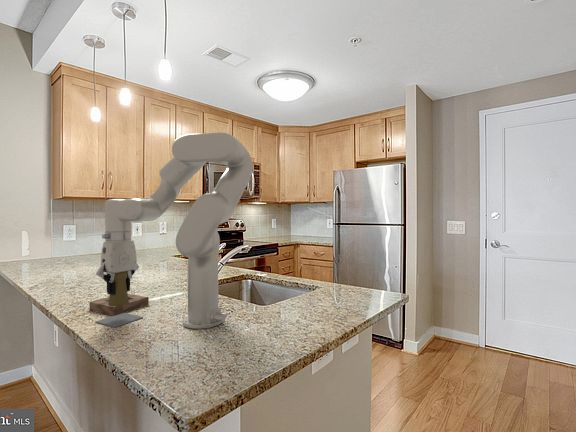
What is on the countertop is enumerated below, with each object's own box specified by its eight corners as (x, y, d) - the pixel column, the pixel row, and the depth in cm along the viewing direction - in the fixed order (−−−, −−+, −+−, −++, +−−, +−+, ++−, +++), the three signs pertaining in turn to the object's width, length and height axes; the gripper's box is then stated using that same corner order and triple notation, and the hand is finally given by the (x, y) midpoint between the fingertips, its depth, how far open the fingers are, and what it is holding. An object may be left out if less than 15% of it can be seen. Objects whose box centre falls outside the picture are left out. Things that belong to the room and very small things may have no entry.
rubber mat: (143, 318, 107) (143, 316, 107) (115, 327, 99) (115, 326, 99) (123, 313, 112) (123, 312, 112) (95, 322, 103) (95, 321, 103)
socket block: (148, 305, 122) (148, 297, 122) (113, 315, 110) (113, 307, 110) (124, 300, 129) (124, 293, 129) (89, 310, 116) (89, 302, 116)
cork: (110, 301, 107) (110, 269, 107) (130, 300, 109) (130, 268, 109) (106, 306, 101) (106, 272, 101) (127, 305, 103) (127, 271, 103)
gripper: (100, 239, 96) (100, 300, 96) (148, 235, 111) (148, 288, 111) (85, 238, 99) (85, 297, 99) (133, 234, 114) (134, 285, 114)
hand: (118, 291), depth 105 cm, fingers closed on cork, 4 cm apart
